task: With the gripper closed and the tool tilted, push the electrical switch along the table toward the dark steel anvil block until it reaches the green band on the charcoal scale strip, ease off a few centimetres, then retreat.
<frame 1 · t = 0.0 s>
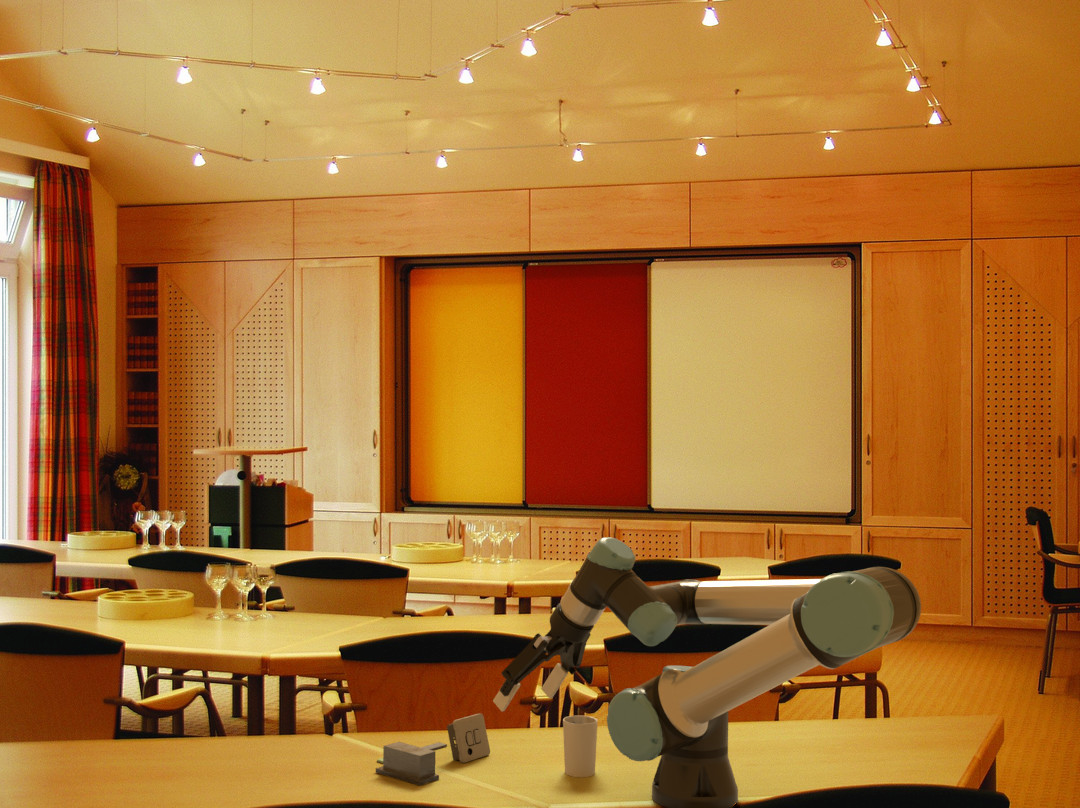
hand: (523, 699, 201), 15 cm above the table, tool tilted 35°, fingers open, 13 cm apart
electrical switch: (467, 758, 216), on the table
scale strip: (413, 753, 218), on the table
anvil block: (408, 775, 204), on the table
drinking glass: (579, 773, 207), on the table
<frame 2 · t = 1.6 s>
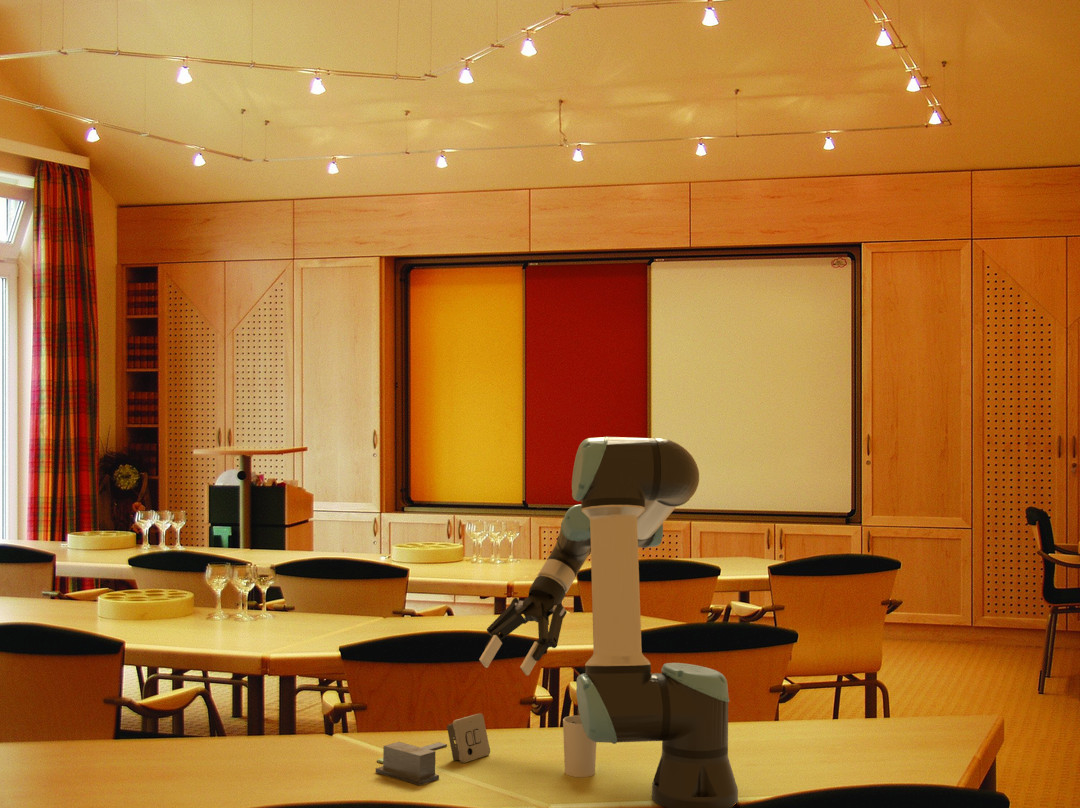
hand: (503, 667, 225), 16 cm above the table, tool tilted 45°, fingers open, 11 cm apart
nothing on the table moved.
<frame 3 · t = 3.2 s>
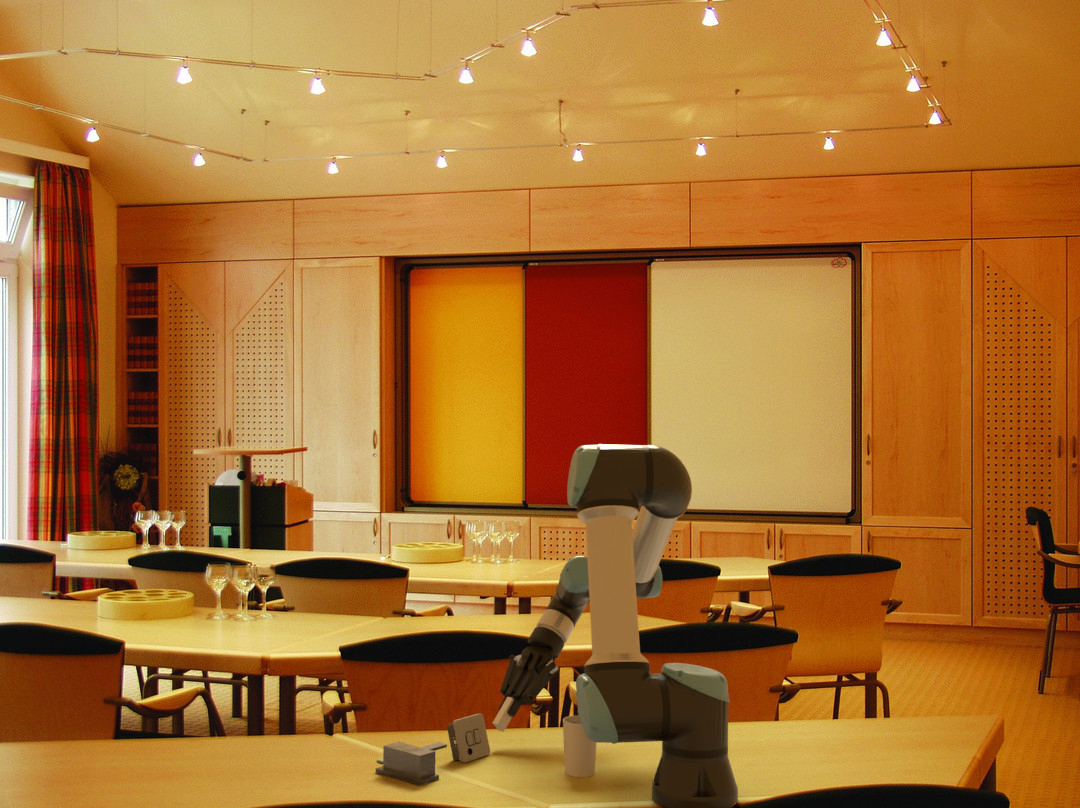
hand: (498, 727, 224), 4 cm above the table, tool tilted 45°, fingers closed
nothing on the table moved.
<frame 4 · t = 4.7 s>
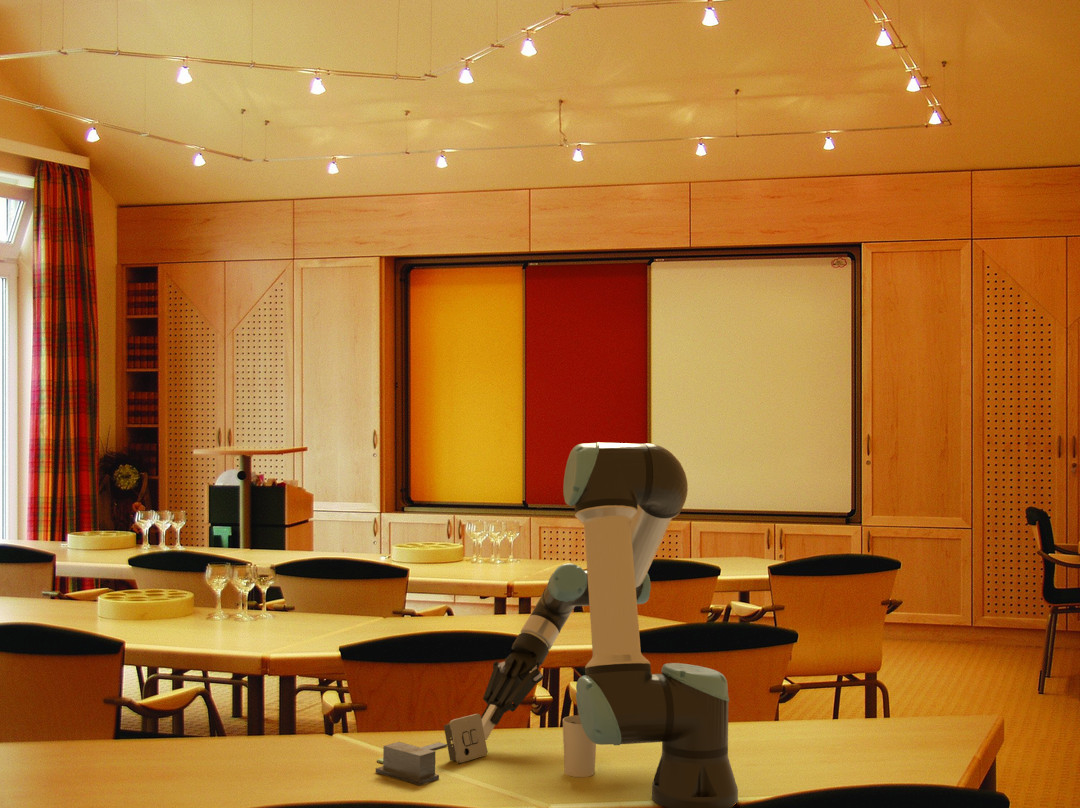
hand: (480, 735, 220), 3 cm above the table, tool tilted 45°, fingers closed
electrical switch: (464, 759, 216), on the table, touching gripper
everything else where it was.
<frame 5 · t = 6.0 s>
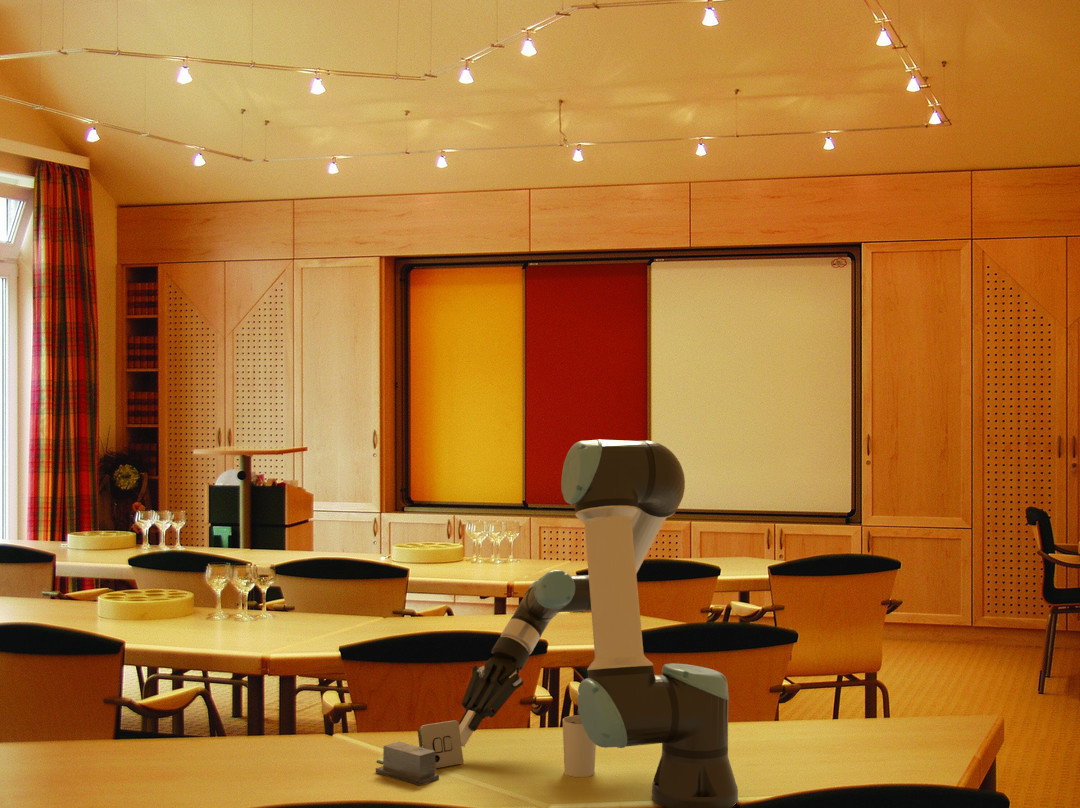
hand: (458, 742, 215), 3 cm above the table, tool tilted 45°, fingers closed
electrical switch: (438, 765, 211), on the table, touching gripper
everything else where it was.
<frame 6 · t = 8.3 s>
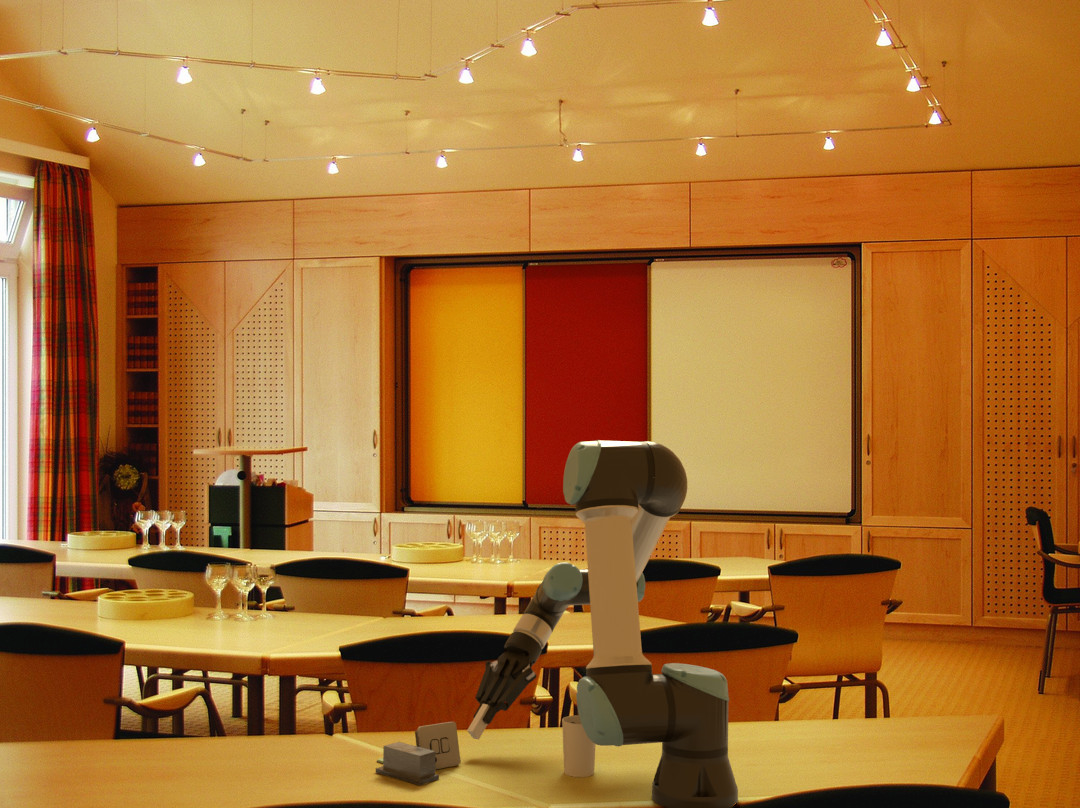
hand: (473, 735, 217), 4 cm above the table, tool tilted 45°, fingers closed
electrical switch: (435, 767, 210), on the table
everything else where it was.
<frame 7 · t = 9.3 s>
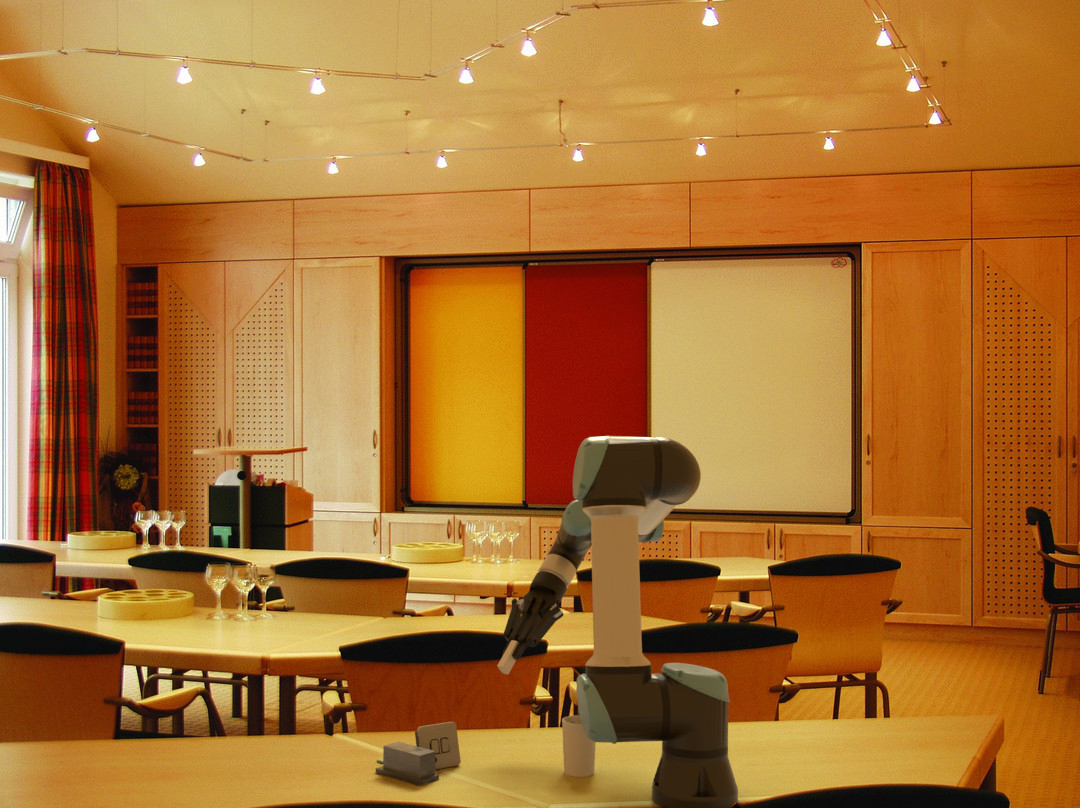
hand: (502, 670, 224), 16 cm above the table, tool tilted 45°, fingers closed
nothing on the table moved.
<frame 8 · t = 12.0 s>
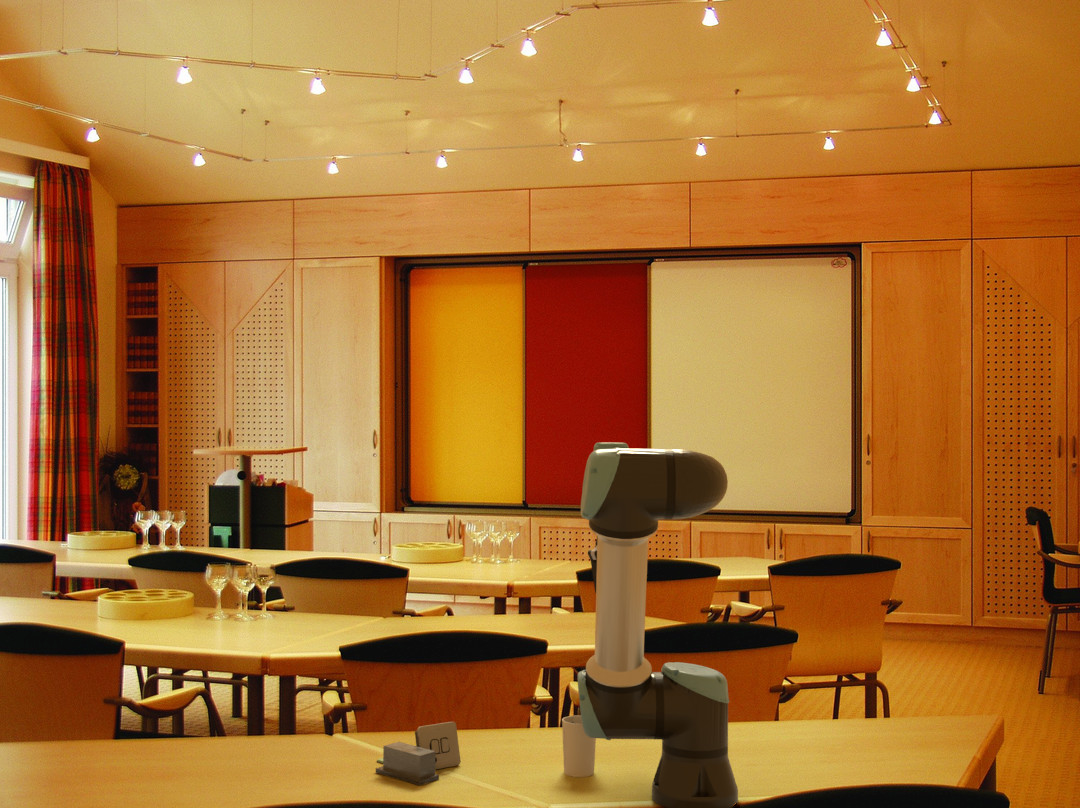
hand: (609, 628, 227), 24 cm above the table, tool pointing down, fingers closed
nothing on the table moved.
at the end: electrical switch inside the target area (1.0 cm from its centre), on the table; electrical switch tilted 0°; electrical switch moved 8.4 cm from its start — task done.
